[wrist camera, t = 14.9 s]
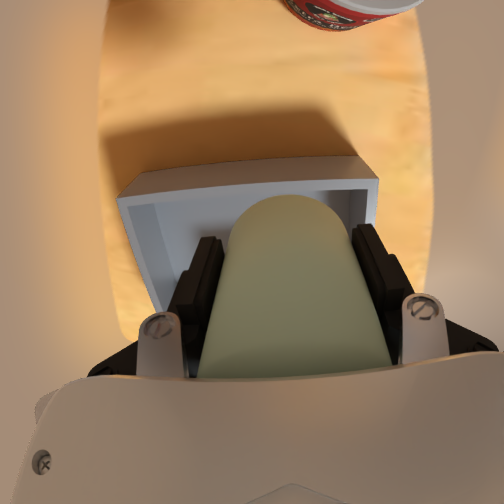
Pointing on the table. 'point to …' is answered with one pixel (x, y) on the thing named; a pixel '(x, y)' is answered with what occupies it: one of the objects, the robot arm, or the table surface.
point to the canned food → (346, 12)
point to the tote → (229, 206)
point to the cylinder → (291, 297)
